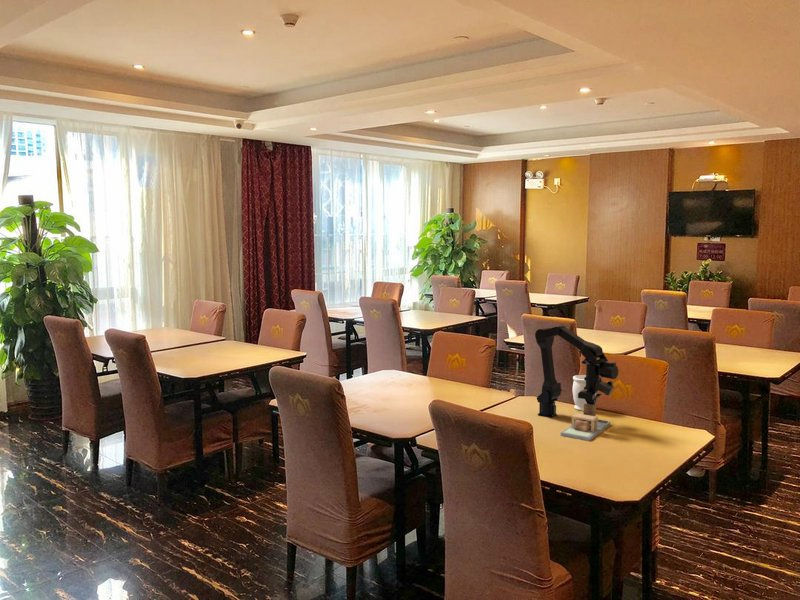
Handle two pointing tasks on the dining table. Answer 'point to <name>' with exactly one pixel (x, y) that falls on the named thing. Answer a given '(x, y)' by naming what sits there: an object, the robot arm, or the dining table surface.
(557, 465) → the dining table surface
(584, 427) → the wooden block
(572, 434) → the bridge deck
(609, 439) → the dining table surface
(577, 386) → the jar
